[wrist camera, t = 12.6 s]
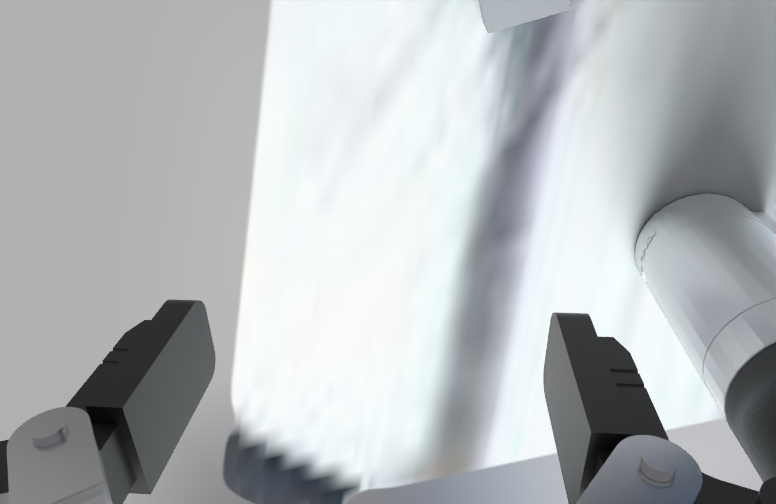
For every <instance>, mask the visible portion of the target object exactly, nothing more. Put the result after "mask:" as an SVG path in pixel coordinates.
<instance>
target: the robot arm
mask: <svg viewBox="0 0 776 504" xmlns="http://www.w3.org/2000/svg"><path fill="white" fill-rule="evenodd" d="M635 260H636V265H637V268H638V270H639V272H640V274H641V276H642V278H643V280H644V281H645V283H646V284H647V286H648V288H649V290H650V291H651V293H652V295H653V297H654V298H655V300H656V302H657V304H658V305H659V307H660V309H661V310H662V312H663V314H664V315H665V317H666V319H667V321H668V322H669V324H670V326H671V327H672V329H673V331H674V333H675V334H676V336H677V338H678V339H679V341H680V343H681V344H682V346H683V348H684V350H685V351H686V353H687V355H688V356H689V358H690V360H691V362H692V363H693V365H694V367H695V368H696V370H697V372H698V373H699V375H700V377H701V379H702V380H703V382H704V384H705V385H706V387H707V389H708V390H709V392H710V394H711V395H712V397H713V399H714V400H715V402H716V404H717V406H718V407H719V409H720V411H721V412H722V414H723V416H724V418H725V419H726V421H727V422H728V424H729V426H730V428H731V430H732V431H733V433H734V435H735V436H736V438H737V440H738V441H739V443H740V444H741V446H742V448H743V449H744V451H745V452H746V454H747V455H748V457H749V459H750V460H751V462H752V464H753V466H754V467H755V469H756V471H757V472H758V474H759V476H760V477H761V479H762V481H763V484H762V486H761V489H760V491H759V492H758V491H755V490H751V489H748V488H745V487H741V486H738V485H735V484H731V483H728V482H725V481H721V480H718V479H715V478H713V477H711V476H708V475H706V474H704V473H702V472H701V470H700V468H699V466H698V464H697V463H696V461H695V460H694V459H693V458H692V456H691V455H689V454H688V453H687V452H686V451H685V450H683V449H682V448H681V447H679V446H678V445H676V444H674V443H672V442H670V441H669V439H668V437H667V435H666V432H665V430H664V428H663V426H662V423H661V421H660V419H659V417H658V414H657V412H656V410H655V408H654V406H653V403H652V401H651V399H650V397H649V394H648V392H647V390H646V388H644V383H643V381H642V379H641V377H640V374H638V370H637V368H636V365H635V363H634V361H633V359H632V356H631V354H630V352H629V351H627V350H626V349H625V348H624V347H623V346H622V345H621V344H620V343H619V342H618V341H617V340H616V339H615V338H613V337H597V334H596V331H595V329H594V326H593V324H592V321H591V318H590V316H589V315H588V314H581V313H553V314H552V317H551V321H550V328H549V335H548V342H547V350H546V357H545V364H544V392H545V398H546V402H547V407H548V411H549V416H550V420H551V425H552V430H553V434H554V439H555V443H556V448H557V452H558V457H559V461H560V466H561V471H562V475H563V480H564V484H565V489H566V493H567V498H568V502H569V504H776V222H775V221H773V220H772V219H771V218H770V217H769V216H768V215H766V214H765V213H763V212H752V211H750V210H749V209H747V208H746V207H745V206H744V205H742V204H741V203H740V202H739V201H736V200H734V199H732V198H730V197H728V196H723V195H719V194H697V195H691V196H687V197H684V198H682V199H679V200H676V201H674V202H672V203H670V204H669V205H667V206H665V207H663V208H662V209H661V210H660V211H658V212H657V213H656V214H654V215H653V216H652V218H651V219H650V220H649V221H648V222H647V223H646V224H645V226H644V228H643V229H642V231H641V233H640V234H639V237H638V240H637V243H636V248H635ZM214 369H215V351H214V346H213V342H212V337H211V332H210V327H209V323H208V317H207V312H206V309H205V305H204V304H203V302H202V301H195V300H167V301H166V302H165V303H164V304H163V306H162V307H161V308H160V310H159V311H158V312H157V313H156V315H155V316H154V317H153V319H152V320H144V321H143V322H141V323H139V324H138V325H137V326H135V327H134V328H132V329H131V330H129V331H128V332H126V333H125V334H124V335H123V336H122V338H121V339H120V340H119V341H118V343H117V344H116V345H115V347H114V348H113V351H111V352H109V354H108V355H107V356H106V358H105V359H104V360H103V364H100V365H99V366H98V367H97V368H96V370H95V371H94V372H93V374H92V375H91V376H90V377H89V378H88V380H87V381H86V382H85V383H84V385H83V386H82V387H81V388H80V389H79V391H78V392H77V393H76V395H75V396H74V397H73V398H72V399H71V400H70V402H69V403H68V404H67V405H66V407H60V408H55V409H51V410H48V411H45V412H43V413H41V414H38V415H36V416H34V417H32V418H31V419H29V420H28V421H26V422H25V423H23V424H22V425H21V426H20V427H19V428H18V429H17V430H16V431H15V432H14V433H13V434H12V436H11V437H10V439H9V440H5V441H0V504H123V502H124V501H125V499H126V497H127V495H128V494H129V493H138V494H151V492H152V491H153V489H154V487H155V485H156V483H157V481H158V479H159V477H160V475H161V474H162V472H163V470H164V468H165V466H166V464H167V462H168V460H169V459H170V457H171V455H172V453H173V451H174V449H175V447H176V445H177V444H178V442H179V440H180V437H181V436H182V434H183V432H184V430H185V428H186V426H187V425H188V423H189V421H190V419H191V417H192V415H193V413H194V411H195V410H196V408H197V406H198V404H199V402H200V400H201V398H202V396H203V395H204V393H205V391H206V389H207V387H208V385H209V383H210V381H211V379H212V377H213V373H214Z"/></svg>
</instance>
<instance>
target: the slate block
mask: <svg viewBox="0 0 776 504" xmlns="http://www.w3.org/2000/svg"><path fill="white" fill-rule="evenodd" d="M479 3H480V8H481V13H482V18H483V23H484V25H485V27H486V30H487V32H488V33H491V32H495V31H498V30H502V29H505V28H509V27H512V26H515V25H519V24H522V23H526V22H529V21H533V20H536V19H540V18H543V17H547V16H550V15H554V14H557V13H561V12H564V11H568V10H571V5H570V0H479Z"/></svg>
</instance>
